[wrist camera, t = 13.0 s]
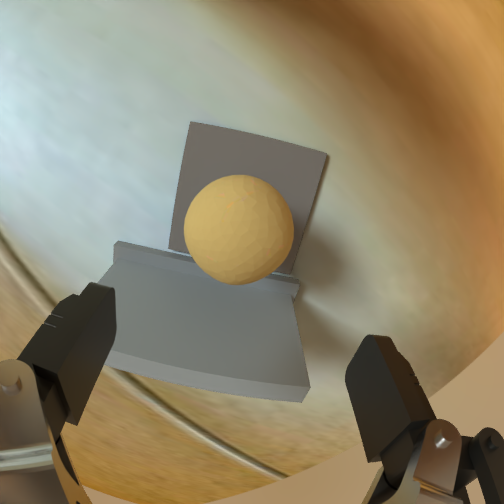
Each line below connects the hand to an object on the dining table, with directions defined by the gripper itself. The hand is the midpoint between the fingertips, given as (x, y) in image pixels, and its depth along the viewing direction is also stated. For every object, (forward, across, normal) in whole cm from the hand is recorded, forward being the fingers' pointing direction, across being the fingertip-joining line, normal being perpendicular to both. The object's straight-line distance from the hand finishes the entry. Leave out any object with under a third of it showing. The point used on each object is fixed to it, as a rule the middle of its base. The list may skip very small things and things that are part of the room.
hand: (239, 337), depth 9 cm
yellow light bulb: (+17, 0, +1) cm, 17 cm away
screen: (+17, +2, +9) cm, 19 cm away
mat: (+17, 0, +1) cm, 17 cm away
